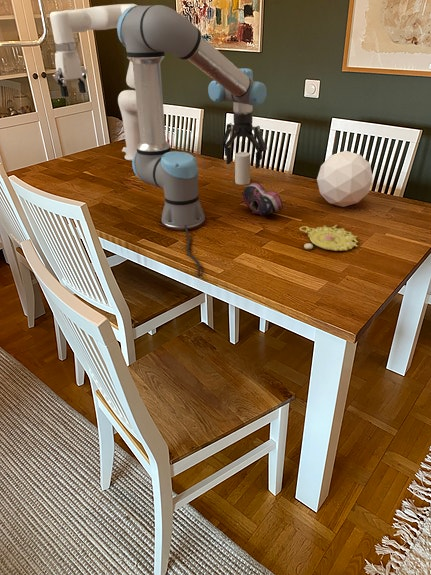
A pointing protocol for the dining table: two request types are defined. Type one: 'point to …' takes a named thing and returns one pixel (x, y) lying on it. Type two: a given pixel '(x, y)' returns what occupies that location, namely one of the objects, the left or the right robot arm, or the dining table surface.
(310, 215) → the dining table surface
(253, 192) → the athletic shoe
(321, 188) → the sphere
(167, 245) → the dining table surface
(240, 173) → the canister
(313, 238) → the decorative object
